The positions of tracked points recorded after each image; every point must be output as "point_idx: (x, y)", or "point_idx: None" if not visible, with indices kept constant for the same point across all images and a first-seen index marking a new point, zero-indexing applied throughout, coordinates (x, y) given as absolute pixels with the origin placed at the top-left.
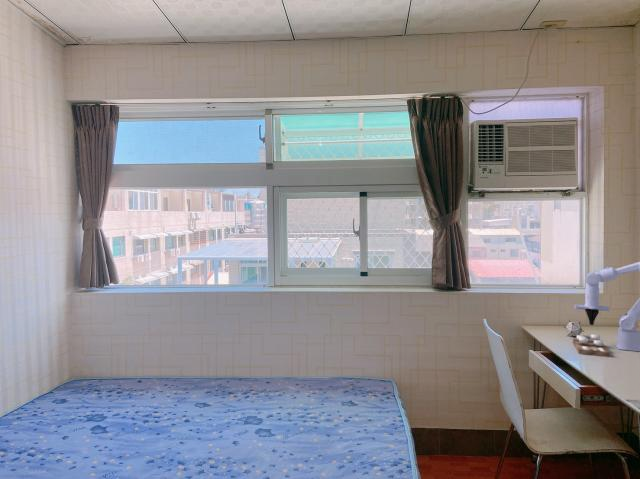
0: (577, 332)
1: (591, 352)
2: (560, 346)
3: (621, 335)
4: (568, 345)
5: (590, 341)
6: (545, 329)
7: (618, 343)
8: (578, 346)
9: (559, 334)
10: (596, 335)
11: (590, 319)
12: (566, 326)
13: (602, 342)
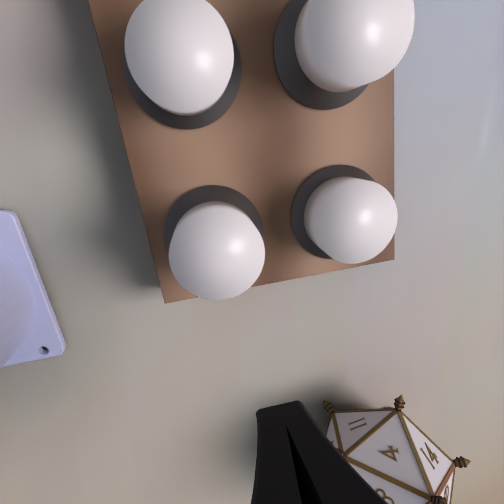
0: (351, 428)
1: None
2: (488, 55)
3: None
4: (418, 132)
5: (255, 220)
6: (496, 487)
7: (3, 285)
8: None
9: (434, 423)
10: (205, 254)
11: (336, 472)
12: (452, 469)
13: (128, 29)
